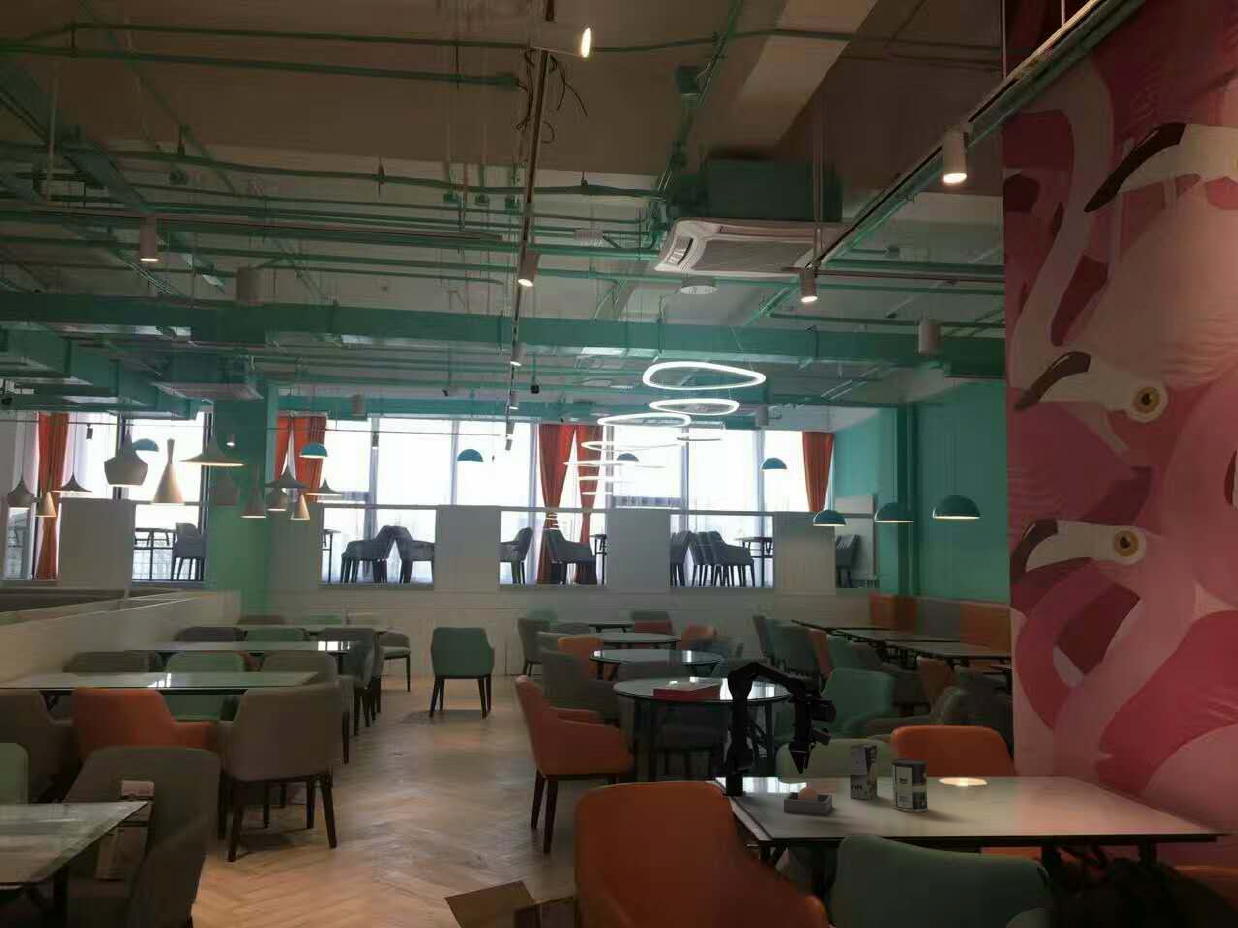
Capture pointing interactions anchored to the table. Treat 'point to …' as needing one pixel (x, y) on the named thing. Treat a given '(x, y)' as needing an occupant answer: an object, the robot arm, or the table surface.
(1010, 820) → the table surface
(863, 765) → the coffee box
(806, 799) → the ball
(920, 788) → the coffee can
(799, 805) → the grey open square tray
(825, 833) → the table surface
